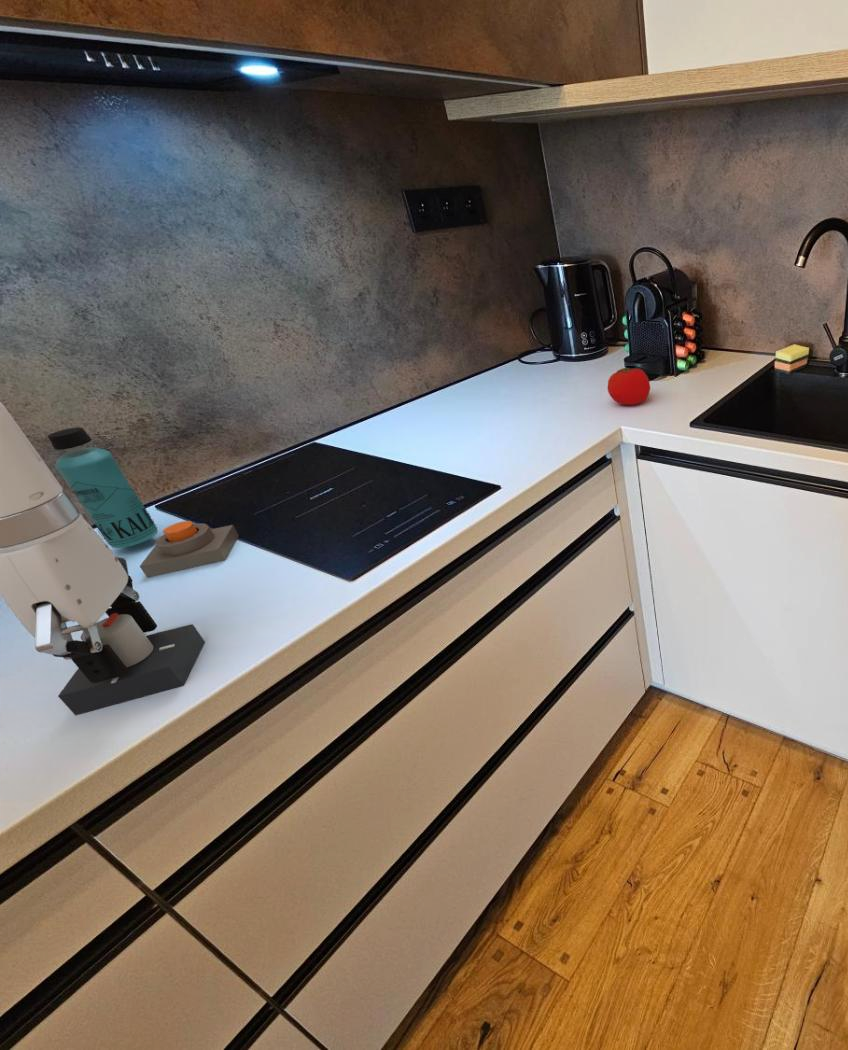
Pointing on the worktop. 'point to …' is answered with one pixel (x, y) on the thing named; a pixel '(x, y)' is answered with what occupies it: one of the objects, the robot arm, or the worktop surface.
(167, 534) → the lid button
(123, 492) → the beverage bottle
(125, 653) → the dial
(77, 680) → the black angular plate
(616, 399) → the tomato
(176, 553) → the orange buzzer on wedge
